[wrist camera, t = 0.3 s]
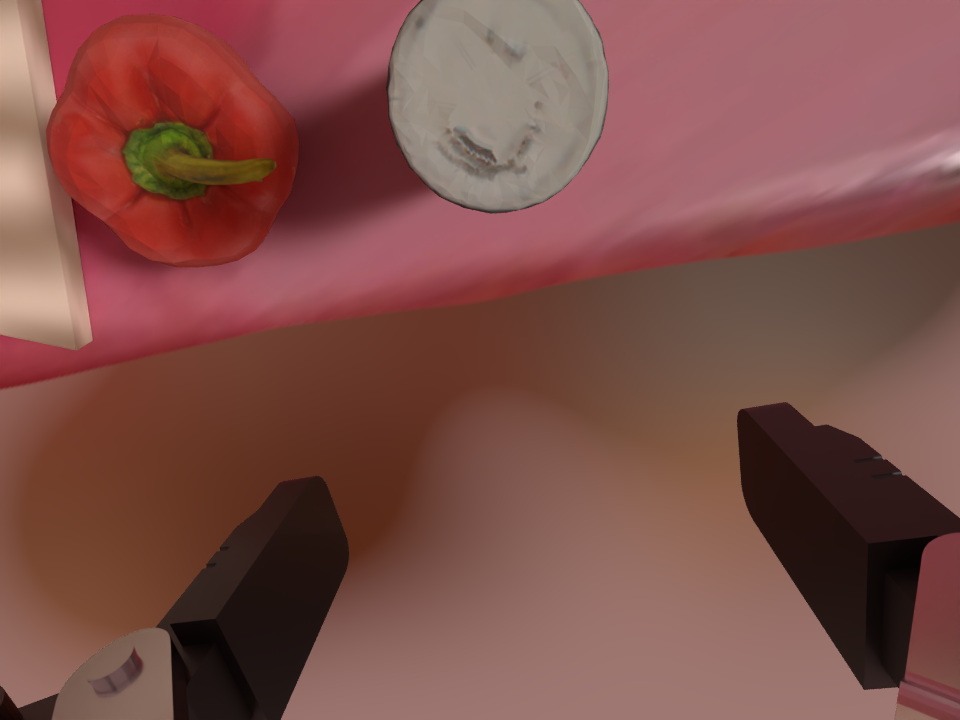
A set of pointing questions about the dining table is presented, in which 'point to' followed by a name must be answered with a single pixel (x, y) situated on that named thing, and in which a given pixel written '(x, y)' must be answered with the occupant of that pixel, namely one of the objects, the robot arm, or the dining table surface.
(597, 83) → the sauce bottle
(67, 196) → the dial board
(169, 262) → the vegetable
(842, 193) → the dining table surface
